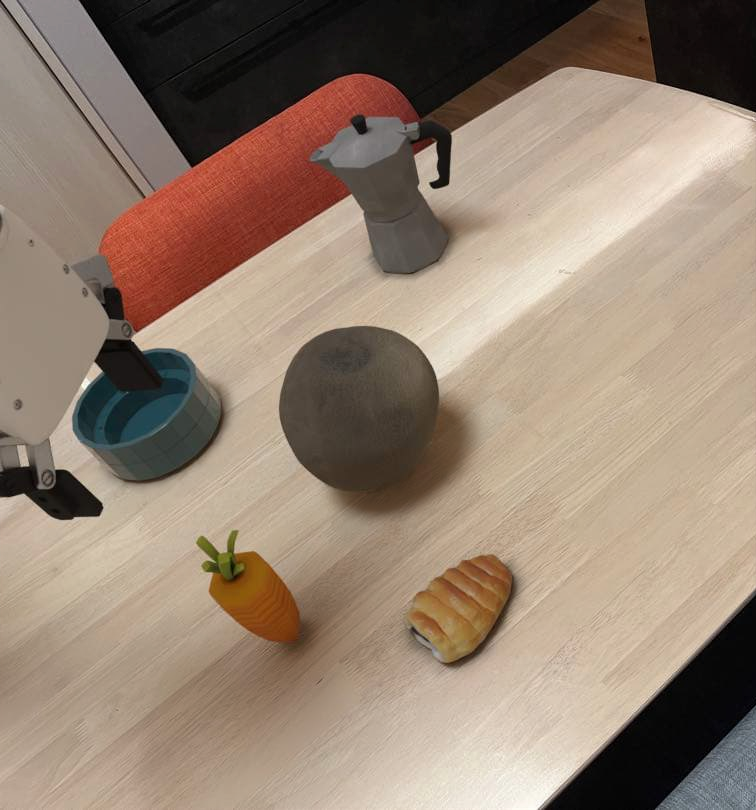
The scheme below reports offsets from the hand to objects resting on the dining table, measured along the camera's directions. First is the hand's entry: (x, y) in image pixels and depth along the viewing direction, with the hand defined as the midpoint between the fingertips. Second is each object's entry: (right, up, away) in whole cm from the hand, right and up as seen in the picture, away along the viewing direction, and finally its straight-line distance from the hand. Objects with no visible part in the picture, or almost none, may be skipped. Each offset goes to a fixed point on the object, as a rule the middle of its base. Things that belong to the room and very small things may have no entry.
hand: (114, 446), depth 57 cm
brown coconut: (+12, -3, +31) cm, 33 cm away
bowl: (-13, 0, +40) cm, 42 cm away
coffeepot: (+13, +21, +51) cm, 56 cm away
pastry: (+20, -15, +19) cm, 31 cm away
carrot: (+6, -17, +21) cm, 28 cm away
